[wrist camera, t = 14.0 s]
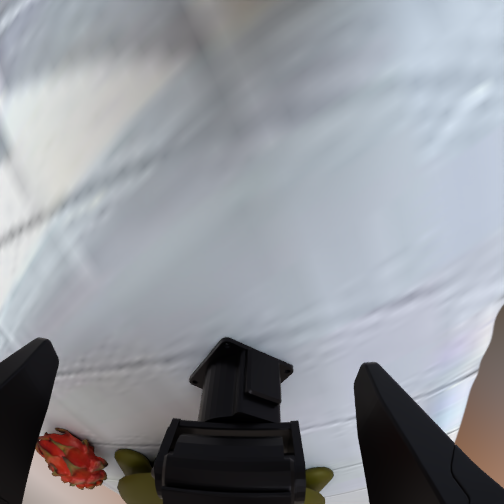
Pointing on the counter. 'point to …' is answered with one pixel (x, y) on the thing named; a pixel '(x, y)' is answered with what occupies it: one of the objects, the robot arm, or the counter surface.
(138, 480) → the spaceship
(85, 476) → the dragon fruit
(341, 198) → the counter surface
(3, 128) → the counter surface
